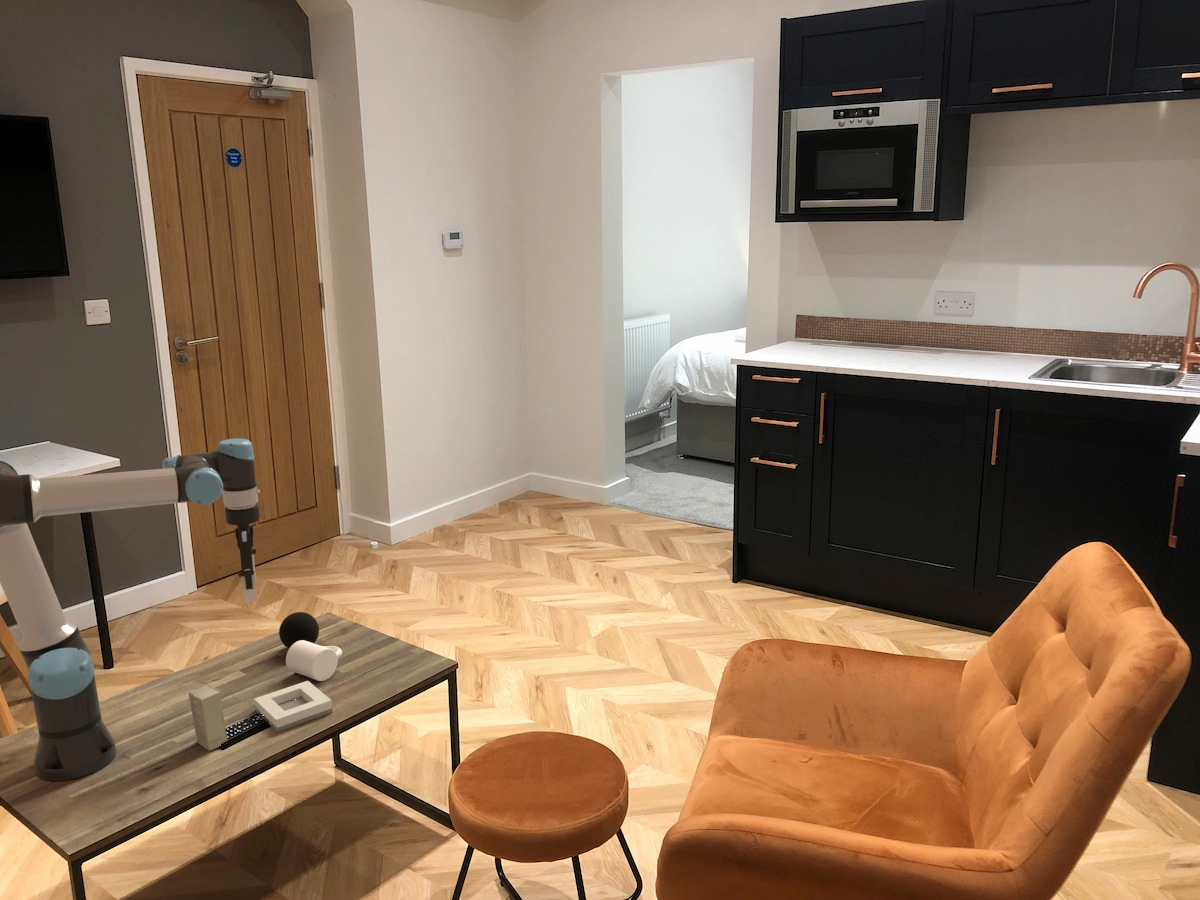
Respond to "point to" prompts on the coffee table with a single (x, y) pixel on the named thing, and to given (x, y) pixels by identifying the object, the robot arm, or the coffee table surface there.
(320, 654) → the mug
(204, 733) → the skincare box
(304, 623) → the decorative ball
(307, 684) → the socket block
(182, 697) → the coffee table surface
